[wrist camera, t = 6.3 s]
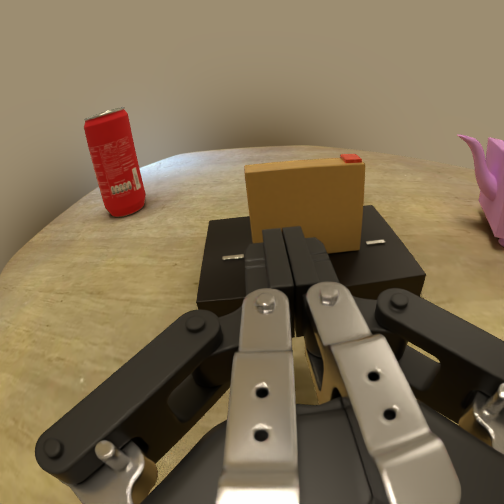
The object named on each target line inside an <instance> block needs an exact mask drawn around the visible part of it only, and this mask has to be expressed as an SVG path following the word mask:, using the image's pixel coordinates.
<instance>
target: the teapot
mask: <svg viewBox="0 0 504 504" xmlns="http://www.w3.org/2000/svg"><path fill="white" fill-rule="evenodd" d="M457 136H459V137H460V138H461V139H463V140H464V141H465V142H466V143H467V144H468V146H469V147H470V149H471V151H472V154H473V158H474V166H475V175H476V180H477V183H478V186H479V188H480V190H481V191H480V196H479V202H480V204H481V207H482V209H483V211H484V213H485V215H486V218H487V220H488V222H489V224H490V227H491V229H492V231H493V234H494V236H495V237H498V238H500V239H499V243H500V244H501V245H502V246H503V247H504V141H503V140H498V139H495V138H490V137H489V138H488V145H487V153H486V160H485V155H484V151H483V148H482V146H481V144H480V143H479V142H478V140H476V139H474V138H472V137H468V136H464V135H457Z"/></svg>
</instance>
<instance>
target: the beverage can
mask: <svg viewBox="0 0 504 504" xmlns="http://www.w3.org/2000/svg"><path fill="white" fill-rule="evenodd" d="M84 130H85V134H86V138H87V143H88V147H89V151H90V155H91V159H92V163H93V166H94V170H95V174H96V178H97V181H98V185H99V188H100V192H101V195H102V198H103V202H104V205H105V208H106V209H107V210H108V211H109V212H110V214H111V216H113V217H123V216H127V215H130V214H133V213H135V212H137V211H139V210H140V209H142V208H143V207H144V205H145V203H144V200H145V195H146V194H145V190H144V186H143V182H142V178H141V174H140V169H139V165H138V161H137V156H136V152H135V147H134V142H133V138H132V133H131V128H130V123H129V118H128V114H127V112H126V111H125V110H124V107H121V108H117V109H113V110H110V111H106V112H103V113H100V114H96V115H93V116H91V117H88V118H86V119H85V125H84Z"/></svg>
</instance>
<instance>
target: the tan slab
mask: <svg viewBox="0 0 504 504" xmlns="http://www.w3.org/2000/svg"><path fill="white" fill-rule="evenodd" d="M244 171H245V181H246V190H247V198H248V207H249V215H250V224H251V232H252V241H253V243H262V242H263V236H262V230H264V229H274V228H281V232H282V228H284V227H294V226H301V228H302V231H303V234H304V237H305V238H311V237H316V238H317V239H318V240H319V241H321V242H322V243H323V244H324V246H325V249H326V251H327V253H328V254H329V253H338V252H347V251H356V250H360V241H361V229H362V216H363V202H364V183H365V163H364V162H363V161H362V159H361V158H360V157H359V156H357V155H356V154H341V155H340V158H328V159H311V160H297V161H285V162H273V163H263V164H253V165H245V166H244Z"/></svg>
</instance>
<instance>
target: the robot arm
mask: <svg viewBox="0 0 504 504" xmlns="http://www.w3.org/2000/svg"><path fill="white" fill-rule="evenodd" d="M262 236H263V242H262V243H252V244H249V246H248V247H247V249H246V250H245V281H246V297H245V299H244V300H243V304H242V306H241V307H240V308H239V309H237V310H236V311H234V312H232V313H230V314H227V315H224V316H221V317H217V315H215V314H214V313H213V312H211V311H208V310H193V311H190V312H187V313H185V314H183V315H182V316H181V317H179V318H178V319H177V320H176V321H175V322H173V323H172V324H171V325H170V326H169V327H168V328H166V329H165V330H164V331H163V332H162V333H161V334H159V335H158V336H157V337H156V338H155V339H154V340H152V341H151V342H150V343H149V344H148V345H146V346H145V347H144V348H143V349H142V350H141V351H139V352H138V353H137V354H136V355H135V356H134V357H132V358H131V359H130V360H129V361H128V362H126V363H125V364H124V365H123V366H122V367H121V368H119V369H118V370H117V371H116V372H115V373H114V374H112V375H111V376H110V377H109V378H108V379H106V380H105V381H104V382H103V383H102V384H101V385H99V386H98V387H97V388H96V389H95V390H93V391H92V392H91V393H90V394H89V395H88V396H86V397H85V398H84V399H83V400H82V401H81V402H79V403H78V404H77V405H76V406H75V407H73V408H72V409H71V410H70V411H69V412H68V413H66V414H65V415H64V416H63V417H62V418H60V419H59V420H58V421H57V422H56V423H55V424H53V425H52V426H51V427H50V428H49V429H47V430H46V431H45V432H44V433H43V434H42V435H41V436H40V437H39V439H38V441H37V443H36V447H35V457H36V460H37V463H38V464H39V466H40V467H41V468H42V469H43V470H44V471H46V472H48V473H49V474H51V475H52V476H54V477H56V478H57V479H59V480H60V481H61V482H62V483H64V484H66V485H67V486H69V487H70V488H71V489H72V491H73V492H74V493H75V494H76V496H77V497H78V498H79V499H80V501H81V502H82V503H83V504H504V341H502V340H501V339H499V338H497V337H495V336H493V335H491V334H489V333H488V332H486V331H484V330H482V329H480V328H478V327H476V326H475V325H473V324H471V323H469V322H467V321H465V320H463V319H461V318H460V317H458V316H456V315H454V314H452V313H450V312H448V311H446V310H444V309H442V308H440V307H438V306H437V305H435V304H433V303H431V302H429V301H427V300H425V299H423V298H421V297H419V296H417V295H415V294H413V293H411V292H409V291H407V290H404V289H400V288H391V289H387V290H385V291H383V292H382V293H380V295H379V296H378V299H377V300H372V299H363V298H358V297H355V296H352V295H351V293H350V291H349V290H348V289H347V288H346V287H345V286H344V285H342V284H340V283H339V280H338V278H337V275H336V273H335V271H334V268H333V266H332V263H331V261H330V258H329V256H328V253H327V251H326V249H325V246H324V244H323V243H322V242H321V241H319V240H318V239H317V238H316V237H311V238H305V237H304V234H303V231H302V228H301V226H294V227H284V228H282V232H281V228H274V229H264V230H262ZM295 332H296V337H301V336H304V340H305V356H306V360H307V363H308V366H309V370H310V373H311V377H312V380H313V384H314V387H315V391H316V394H317V398H318V405H305V404H296V400H295V381H294V364H293V350H292V338H293V337H295ZM408 341H409V342H410V343H412V344H414V345H416V346H417V347H419V348H421V349H423V350H424V351H426V352H428V353H430V354H431V355H433V356H435V357H436V358H437V359H438V360H439V361H440V363H438V362H435V361H434V360H432V359H430V358H428V357H427V356H425V355H423V354H421V353H420V352H418V351H416V350H415V349H413V348H411V347H409V346H408V345H407V344H408ZM229 388H230V395H229V406H228V416H227V420H225V421H224V422H222V423H220V424H218V425H217V426H215V427H214V428H212V429H211V430H210V431H209V432H207V433H206V434H205V435H204V436H203V437H202V438H201V439H200V440H199V442H198V443H197V444H196V445H195V446H194V447H193V448H192V449H191V451H190V452H189V453H188V454H187V455H186V456H185V457H184V458H183V459H182V460H181V461H180V463H179V464H178V465H177V466H176V467H175V468H174V469H173V470H172V471H171V472H170V473H169V474H168V475H167V476H166V477H165V479H164V480H163V481H162V482H161V483H160V484H159V485H158V486H157V487H156V488H155V489H154V490H153V491H152V492H151V493H150V494H149V492H150V490H151V489H152V488H153V486H154V485H155V483H156V481H157V478H158V470H157V467H156V465H155V464H156V463H157V462H158V461H159V460H160V459H161V458H162V457H163V456H164V455H165V454H166V453H167V452H168V451H169V450H170V449H171V448H172V447H173V446H174V445H175V444H176V443H177V442H178V441H179V440H180V439H181V438H182V437H183V436H184V435H185V434H186V433H187V432H188V431H189V430H190V429H191V428H192V427H193V426H194V425H195V424H196V423H197V422H198V421H199V420H200V419H201V418H202V417H203V415H204V414H205V413H206V412H207V411H208V410H209V409H210V408H211V407H212V406H213V405H214V404H215V403H216V402H217V401H218V400H219V399H220V397H221V396H222V395H223V394H224V393H225V392H226V391H227V390H228V389H229ZM417 399H418V400H417ZM435 410H436V411H435ZM438 412H439V413H438ZM441 414H442V415H441ZM443 415H444V416H445V417H444V416H443ZM446 417H447V418H449V419H450V420H449V419H447V418H446ZM451 420H452V421H454V422H455V423H457V424H459V426H458V425H457V424H455V423H454V422H452V421H451ZM148 494H149V495H148Z"/></svg>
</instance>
